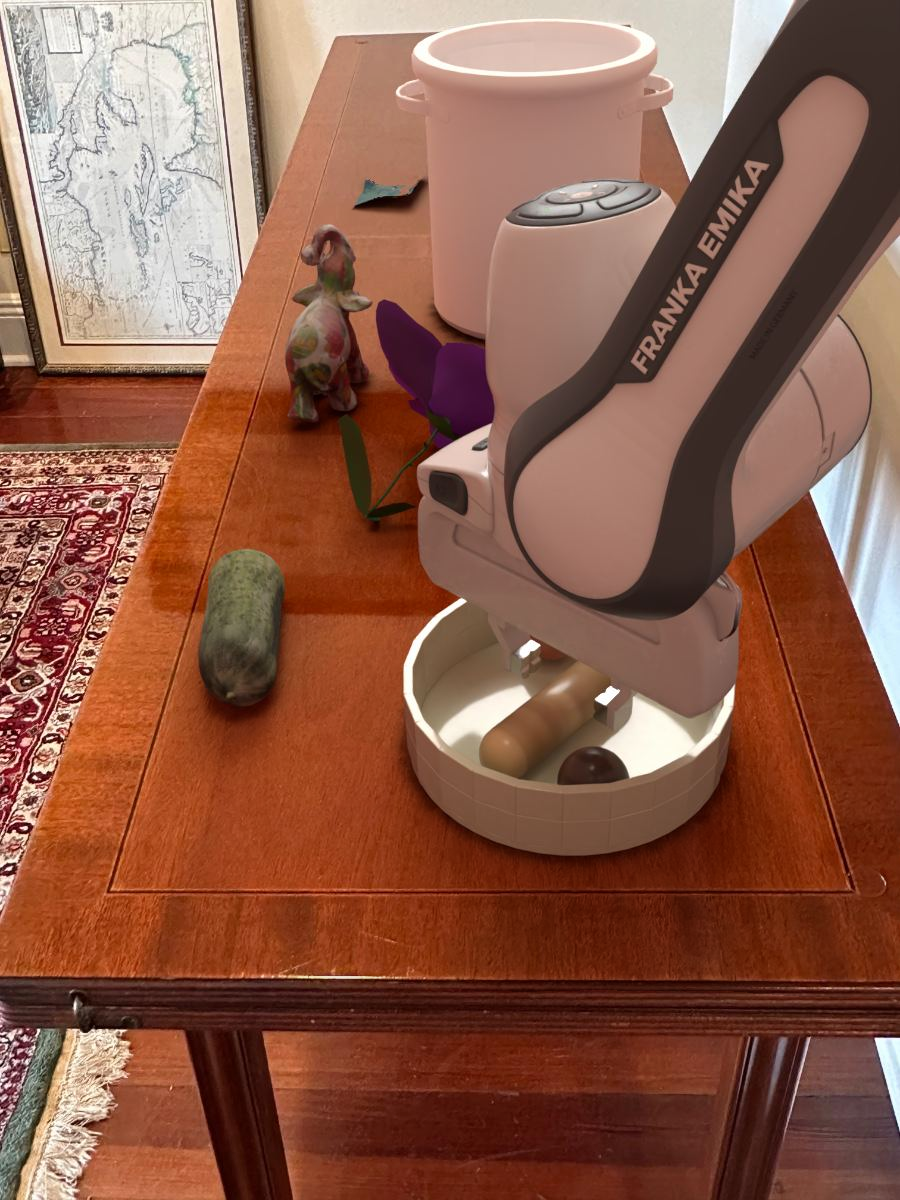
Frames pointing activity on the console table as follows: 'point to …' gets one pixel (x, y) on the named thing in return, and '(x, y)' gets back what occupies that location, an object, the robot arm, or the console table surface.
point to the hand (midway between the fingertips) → (566, 694)
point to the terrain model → (378, 191)
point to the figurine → (326, 330)
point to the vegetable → (241, 627)
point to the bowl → (534, 801)
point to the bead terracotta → (549, 651)
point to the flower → (421, 396)
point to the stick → (543, 721)
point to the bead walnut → (591, 767)
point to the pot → (520, 131)
